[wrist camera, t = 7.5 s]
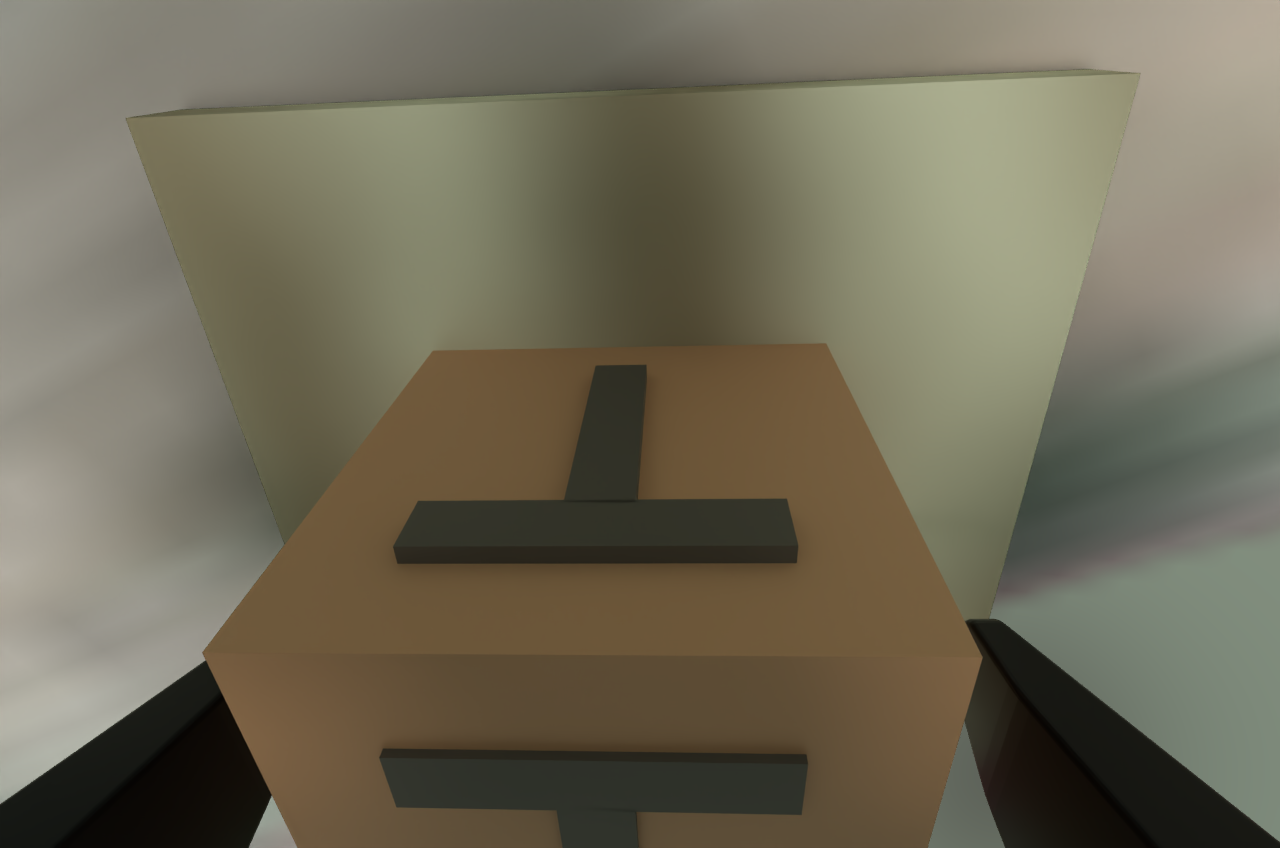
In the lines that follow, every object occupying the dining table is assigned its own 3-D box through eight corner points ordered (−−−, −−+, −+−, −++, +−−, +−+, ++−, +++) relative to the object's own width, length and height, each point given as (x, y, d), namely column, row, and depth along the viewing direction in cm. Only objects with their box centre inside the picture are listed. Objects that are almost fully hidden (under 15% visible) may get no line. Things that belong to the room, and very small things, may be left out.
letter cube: (488, 632, 14) (371, 1012, 8) (430, 338, 11) (186, 644, 5) (796, 633, 13) (880, 1031, 8) (827, 331, 10) (992, 647, 5)
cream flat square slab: (379, 701, 17) (360, 746, 16) (181, 109, 10) (124, 117, 9) (933, 705, 16) (951, 753, 15) (1088, 69, 9) (1139, 73, 8)
